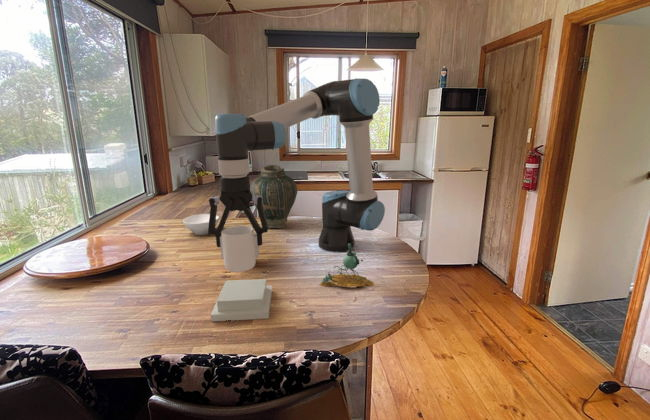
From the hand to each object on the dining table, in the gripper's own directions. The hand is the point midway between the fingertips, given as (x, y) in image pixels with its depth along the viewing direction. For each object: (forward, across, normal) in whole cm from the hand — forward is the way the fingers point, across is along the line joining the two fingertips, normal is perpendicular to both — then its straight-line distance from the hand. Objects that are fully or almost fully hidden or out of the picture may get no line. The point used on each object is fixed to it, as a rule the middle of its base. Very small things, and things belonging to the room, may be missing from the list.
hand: (240, 256), depth 94 cm
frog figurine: (+15, -31, -11) cm, 37 cm away
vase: (+15, -5, -74) cm, 76 cm away
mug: (+2, 0, 0) cm, 2 cm away
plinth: (+15, 0, 0) cm, 15 cm away
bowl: (+15, +29, -68) cm, 76 cm away
